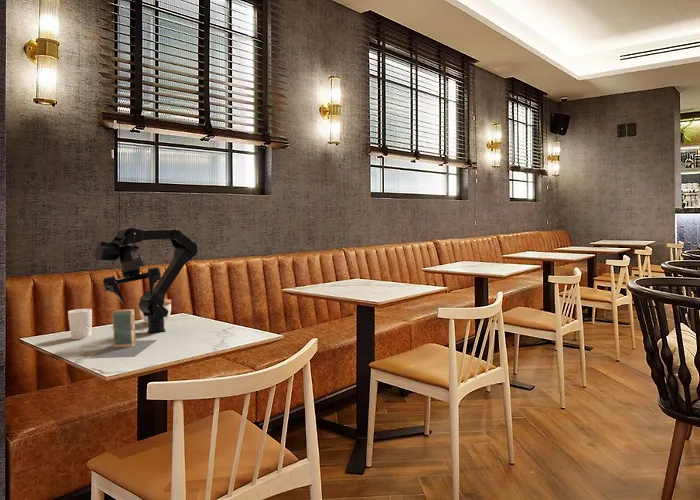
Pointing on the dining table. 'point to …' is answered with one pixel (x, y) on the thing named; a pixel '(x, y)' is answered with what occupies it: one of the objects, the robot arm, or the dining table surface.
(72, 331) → the white cup
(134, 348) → the rubber mat
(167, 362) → the dining table surface
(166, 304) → the lidded bowl
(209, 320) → the dining table surface
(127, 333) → the birch block
